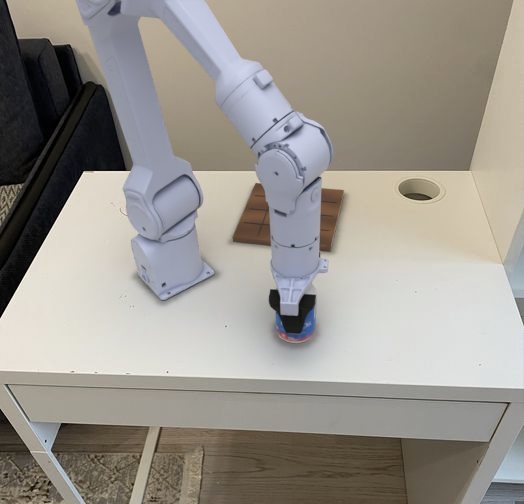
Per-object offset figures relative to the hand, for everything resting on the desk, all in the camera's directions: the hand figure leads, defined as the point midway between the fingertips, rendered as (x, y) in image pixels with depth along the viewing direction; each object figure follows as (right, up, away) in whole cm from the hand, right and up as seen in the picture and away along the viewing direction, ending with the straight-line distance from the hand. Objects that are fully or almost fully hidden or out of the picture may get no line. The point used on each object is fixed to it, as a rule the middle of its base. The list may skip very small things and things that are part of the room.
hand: (295, 315), depth 73 cm
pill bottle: (0, -2, +2) cm, 3 cm away
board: (0, +18, +20) cm, 27 cm away
